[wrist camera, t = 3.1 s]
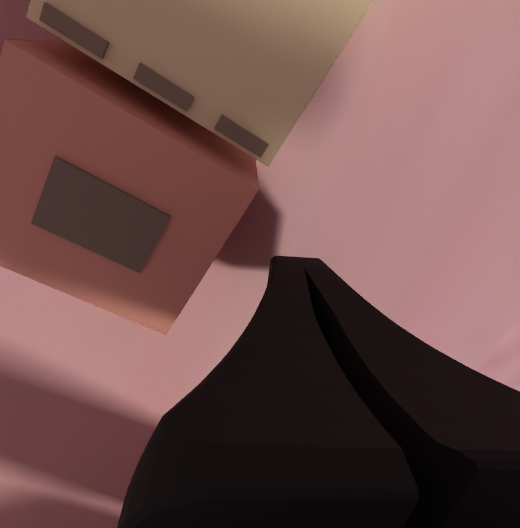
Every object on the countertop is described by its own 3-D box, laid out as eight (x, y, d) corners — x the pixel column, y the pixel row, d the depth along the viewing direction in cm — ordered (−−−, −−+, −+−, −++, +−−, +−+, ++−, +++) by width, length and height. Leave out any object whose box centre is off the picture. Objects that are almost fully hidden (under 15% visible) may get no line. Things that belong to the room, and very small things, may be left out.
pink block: (66, 41, 8) (0, 39, 6) (255, 158, 10) (259, 191, 8) (14, 203, 10) (-51, 248, 8) (180, 281, 12) (165, 337, 9)
